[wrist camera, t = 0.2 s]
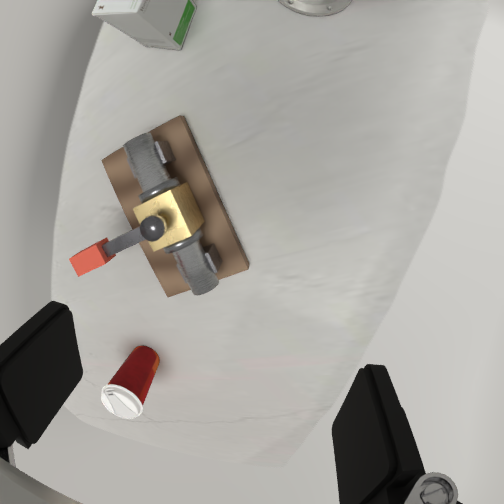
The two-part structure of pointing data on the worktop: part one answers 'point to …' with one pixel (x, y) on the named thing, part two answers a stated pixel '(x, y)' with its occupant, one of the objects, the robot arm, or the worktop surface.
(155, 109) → the worktop surface
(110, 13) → the skincare box
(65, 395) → the robot arm
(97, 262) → the valve lever
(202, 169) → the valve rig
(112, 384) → the paper cup
